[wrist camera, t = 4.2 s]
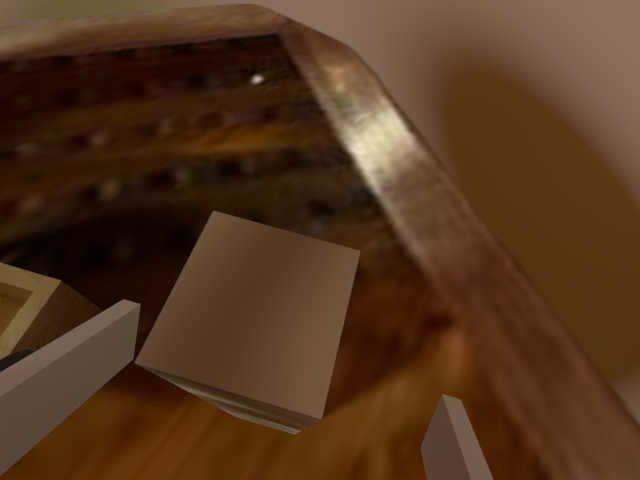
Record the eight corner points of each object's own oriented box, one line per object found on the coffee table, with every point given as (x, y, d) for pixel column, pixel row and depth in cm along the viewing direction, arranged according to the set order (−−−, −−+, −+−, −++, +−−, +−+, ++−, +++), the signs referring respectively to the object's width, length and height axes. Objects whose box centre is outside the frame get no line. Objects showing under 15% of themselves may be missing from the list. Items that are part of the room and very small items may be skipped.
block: (235, 416, 23) (134, 363, 7) (256, 355, 25) (213, 210, 9) (294, 434, 22) (321, 419, 7) (311, 371, 24) (360, 250, 9)
